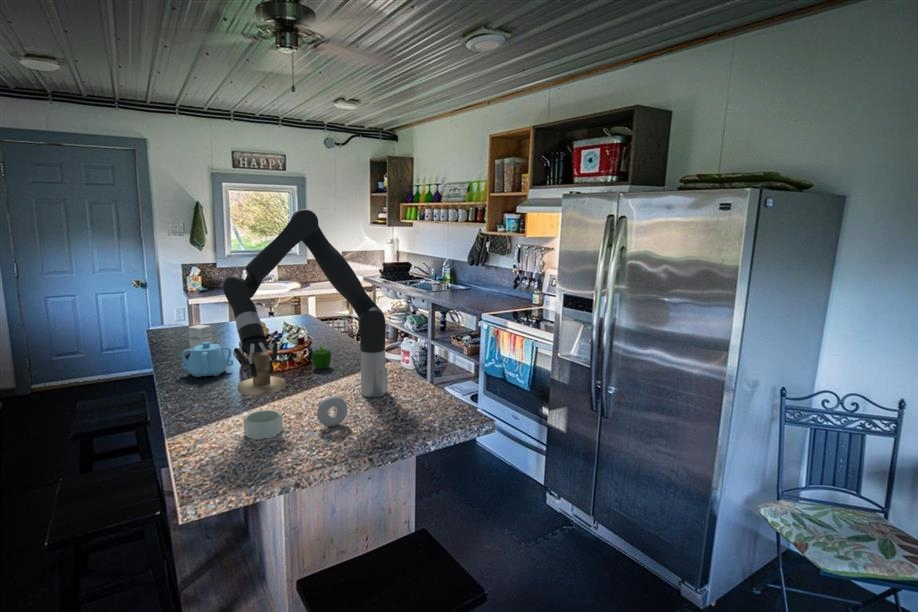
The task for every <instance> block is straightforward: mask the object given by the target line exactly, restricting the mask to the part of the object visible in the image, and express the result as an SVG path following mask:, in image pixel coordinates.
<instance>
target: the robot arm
mask: <svg viewBox="0 0 918 612" xmlns="http://www.w3.org/2000/svg"><path fill="white" fill-rule="evenodd" d="M289 220H290V221H288V223H287V225H286V226H285V227H284V228H283V229H282V231H281V232H280V233H279V234H278V235H277V236H276V237H274V239H273V240H272V241H271V242H270V243H269V244H268V245H266V246H265V247H264V248H263V249H262V250H261V251H260V252H259V253H258V254H256V255H255V256H254V258H252V260H250V261H249V262H248V263H247V265H246V266H245V272H246V273H247V275H246V277H245V278H242V277H241V276H240V275H237V274H231V275H228V276H226V278H225V279H224V281H223V285H222V288H223V290H222V291H223V293H224V296H225V298H226V300H227V302H228V303H229V305H230V307H231V309H232V312H233V316H234V320H235V325H236V327H235V328H236V332H237V334H238V337H239V341H240V345H241V346H240V347H235V348H234V349H233V352H232V354H233V356H234V357H235V359H236V361H237V362H238V363H239V364H240V367H242V368H245V367H246V368H247V367H248V370H249V373H250V376H251V377H252V378H253V377H256V376H257V371H256V368H255V364H253V356H252V353H256V352H262V351H263V352H264V351H265V352H267V353H268V354H269V364H270V368H269V369H270V376H271V375H272V374H274V371H275V370H274V369H275V368H274V365H273V363H275V362H276V360H277V359H278V349H279V348H278V347H279V343H278V342H274V343H270V342H269V341H268V340H267V337H266V335H265V331H264V328H263V324H262V321H261V318H260V316H259V314H258V310H257V307H256V304H255V303H254V301H253V300H252V298H253V297H254V295H256V293H257V291H258V290H259V287H260V286H261V285H262V282H263V281H264V279H265V278H266V277H267V276H268V275H269V274H270V273H271V272H272V271H273V270H274V269H275V268H276V267H277V266H278V265H279V264H280V263H281V261H282V260H283V259H284V258H285V257H286V256H287V254H288V253H290V251H291V250H292V249H293V248H295V247H296V246H297V245H298V244H299V243H300V242H302V243H303V244H304V246H306V248H307V249H308V251H310V253H311V254H312V256H313V258H314V259H315V261H316V263H317V265H318V266H319V268H320V270H321V271H322V273H323V274H324V276H325V277H326V278H327V280H328V281H329V283H330V284H331V285H332V287H333V288H334V289H335V290H336V292H338V293H339V295H341V297H343V298H344V299H345V300H346V301H347V302H348V303H349V304H350V306H351V308H353V311H354V312H355V314H356V315H357V317H358V320H359V336H360V337H359V347H360V351H359V353H360V390H361V391H360V394H361V396H362V397H367V398H381V397H383V396H384V395H385V394H386V393H388V368H387V367H386V318H385V314H384V312H383V310H382V309H381V308H380V307H379V306H378V305H377V304H376V303H375V302H374V301H373V299H372V298H371V297H370V295H369V294H368V293H367V292H366V290H365V288H364V287H363V285H362V283H361V281H360V279H359V277H358V275H357V274H356V272H355V271H354V270H353V268H352V267H351V265H350V264H349V262H348V261H347V260H346V258H345V257H344V256H343V255H342V254H341V253H340V252H339V251H338V249H337V248H335V246H333V245H332V244H331V243H330V241H329V240H328V238H327V237H326V236H325V234H324V233H323V231H322V229H321V228H320V225H319V218H318V216H317V215H316V213H315V212H313V211H312V210H309V209H306V208H304V209H302V208H301V209H298V210H297V211H295V212H294V213H293V214H292V216H291V218H290V219H289ZM268 348H269V349H270V351H271V356H270V353H269V351H268ZM243 353H244V354H246V355H247V359H246V358H245V356H244V355H243Z"/></svg>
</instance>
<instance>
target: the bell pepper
mask: <svg viewBox="0 0 918 612" xmlns="http://www.w3.org/2000/svg"><path fill="white" fill-rule="evenodd" d="M331 360H332V352H331V350H330V349H325V348H323V345H322V344H319V349H315V350H314V351H312V352H311V362H312V364H313V367H314V369H315V370H323V369H325V370H327V369H329V367H330V364H331Z"/></svg>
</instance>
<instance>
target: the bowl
mask: <svg viewBox="0 0 918 612" xmlns="http://www.w3.org/2000/svg"><path fill="white" fill-rule="evenodd" d="M243 431H244V433H243V435H245V436H244V437H246V436H247V437H246V438H248V439H249V438H254V439H253V440H264V439H263V438H267V439H270V438H269V437H271V438H273V437H272V436H274V435H277V434H278V435H280V434H281V433H282V432H283V413H282V412H281V411H279V410H278V409H258V410H256V411H251V412H249V413H248V414H246V415H244V416H243ZM281 431H282V432H281ZM280 432H281V433H280ZM279 433H280V434H279ZM278 435H277V436H278ZM274 437H275V436H274Z"/></svg>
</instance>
